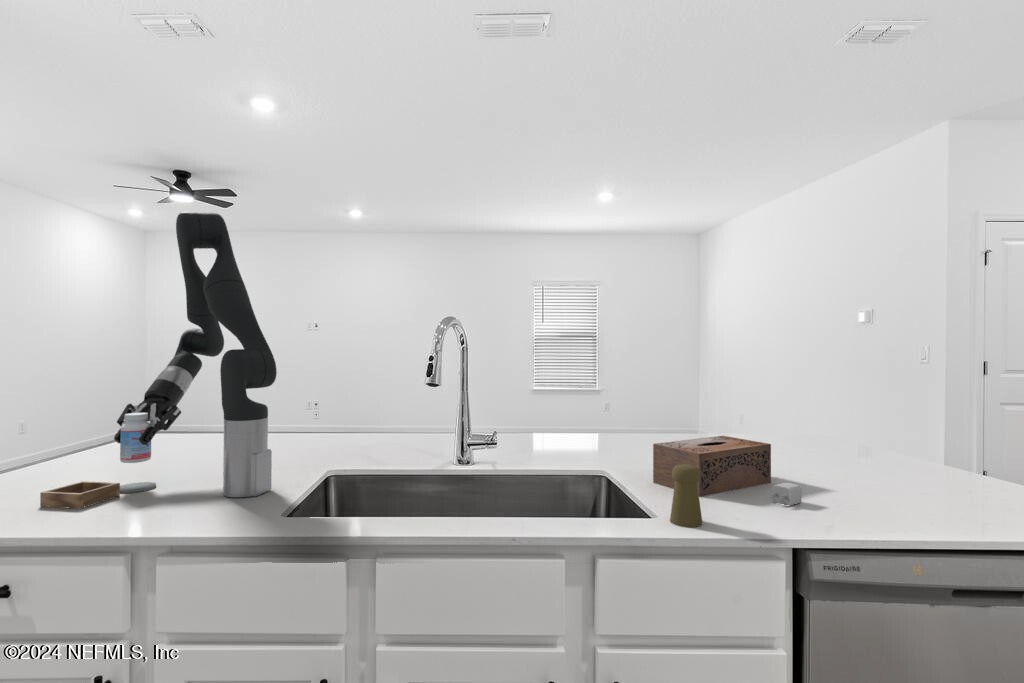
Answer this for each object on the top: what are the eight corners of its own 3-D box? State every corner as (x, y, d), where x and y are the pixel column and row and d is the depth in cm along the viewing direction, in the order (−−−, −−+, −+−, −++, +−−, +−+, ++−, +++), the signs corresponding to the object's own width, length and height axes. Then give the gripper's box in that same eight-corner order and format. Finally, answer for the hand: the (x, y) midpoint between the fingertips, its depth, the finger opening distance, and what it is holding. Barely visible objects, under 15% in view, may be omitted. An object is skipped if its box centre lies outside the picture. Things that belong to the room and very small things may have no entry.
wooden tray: (119, 496, 122) (119, 482, 122) (79, 508, 113) (79, 494, 113) (83, 494, 124) (83, 481, 124) (40, 506, 114) (40, 492, 114)
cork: (665, 517, 107) (665, 462, 107) (694, 516, 108) (694, 461, 108) (677, 527, 101) (676, 469, 101) (708, 526, 102) (707, 468, 102)
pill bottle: (135, 464, 125) (135, 416, 125) (113, 463, 126) (113, 415, 126) (157, 458, 131) (157, 412, 131) (136, 457, 132) (136, 411, 132)
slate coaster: (164, 485, 132) (164, 482, 132) (136, 494, 124) (136, 491, 124) (135, 483, 133) (135, 481, 133) (106, 492, 125) (106, 489, 125)
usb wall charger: (801, 504, 117) (801, 485, 117) (783, 509, 113) (783, 490, 113) (783, 499, 120) (783, 481, 120) (765, 504, 117) (765, 486, 117)
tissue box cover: (722, 472, 148) (722, 435, 148) (770, 483, 135) (770, 443, 135) (653, 483, 135) (653, 443, 135) (699, 497, 122) (699, 453, 123)
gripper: (136, 377, 137) (93, 431, 125) (187, 378, 135) (147, 433, 123) (153, 396, 142) (113, 450, 131) (202, 397, 140) (165, 452, 129)
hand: (130, 441), depth 127 cm, fingers closed on pill bottle, 6 cm apart
